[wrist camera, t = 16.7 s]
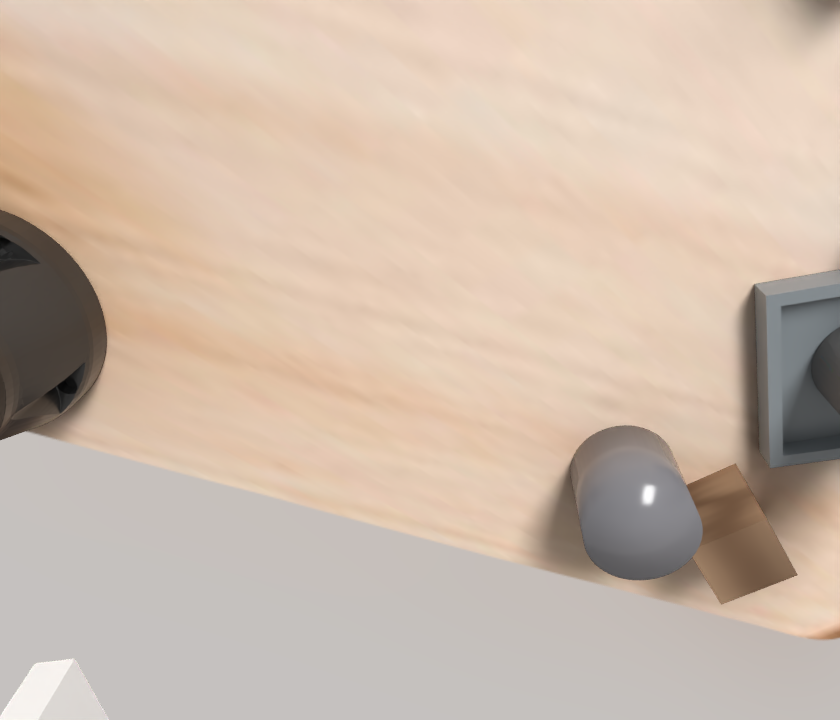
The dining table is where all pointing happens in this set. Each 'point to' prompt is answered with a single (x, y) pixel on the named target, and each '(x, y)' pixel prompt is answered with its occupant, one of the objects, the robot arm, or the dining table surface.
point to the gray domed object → (634, 504)
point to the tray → (795, 368)
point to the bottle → (828, 369)
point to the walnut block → (735, 538)
